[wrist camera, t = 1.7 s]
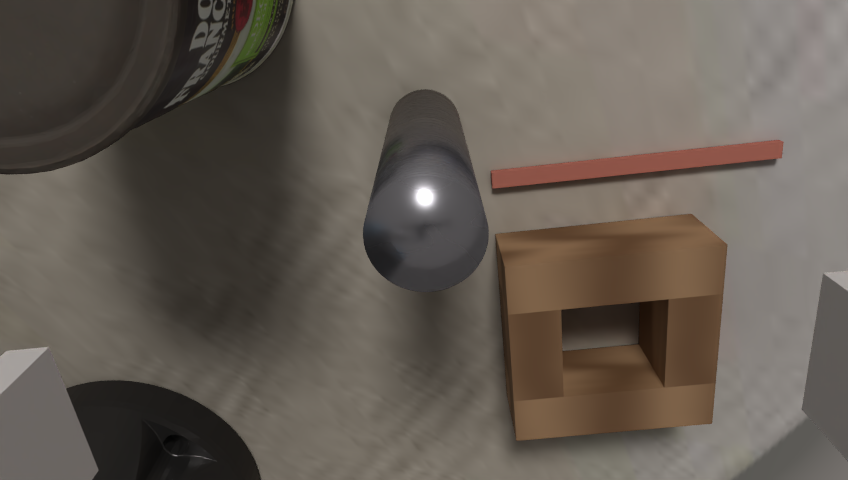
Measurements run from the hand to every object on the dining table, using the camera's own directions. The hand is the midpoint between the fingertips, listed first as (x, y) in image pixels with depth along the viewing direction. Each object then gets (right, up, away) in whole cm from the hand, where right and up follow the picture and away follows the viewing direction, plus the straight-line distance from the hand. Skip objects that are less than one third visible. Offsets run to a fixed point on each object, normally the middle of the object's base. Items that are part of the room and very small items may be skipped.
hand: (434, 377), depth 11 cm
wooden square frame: (+9, -1, +23) cm, 24 cm away
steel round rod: (0, +8, +19) cm, 21 cm away
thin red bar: (+10, +6, +20) cm, 23 cm away
